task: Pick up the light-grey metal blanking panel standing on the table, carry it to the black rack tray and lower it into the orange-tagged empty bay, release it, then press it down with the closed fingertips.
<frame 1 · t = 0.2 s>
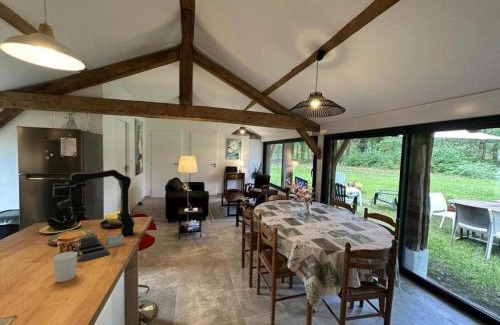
hand: (76, 221, 128), 14 cm above the counter, fingers open, 9 cm apart
rack: (90, 251, 122), on the counter
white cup: (65, 278, 96), on the counter
panel: (114, 245, 131), on the counter
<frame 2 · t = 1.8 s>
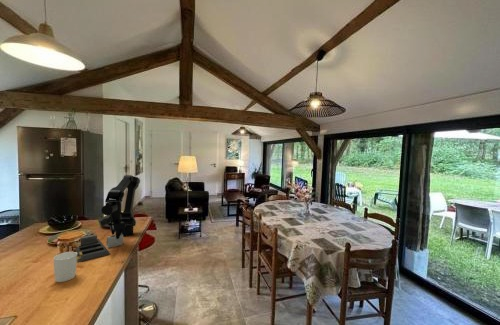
hand: (115, 236, 131), 5 cm above the counter, fingers open, 9 cm apart
nothing on the counter moved.
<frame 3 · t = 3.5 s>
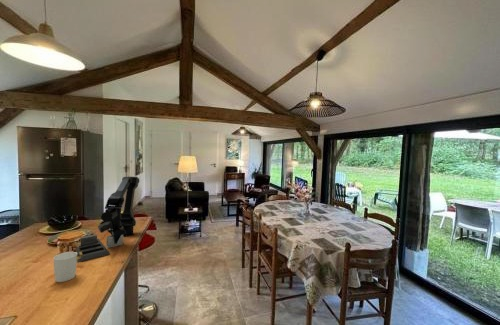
hand: (114, 242, 131), 2 cm above the counter, fingers closed on panel, 2 cm apart
panel: (114, 245, 131), on the counter, touching gripper
everything else where it was.
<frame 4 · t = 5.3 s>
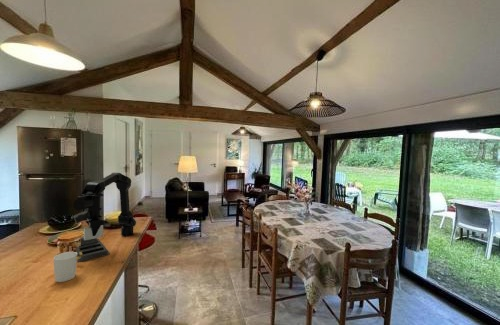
hand: (93, 235, 117), 11 cm above the counter, fingers closed on panel, 2 cm apart
panel: (93, 237, 117), point 9 cm above the counter, touching gripper
everything else where it was.
when the fingers open (3 cm above the counter, at t = 7.2 s): panel stays where it is, resting on rack.
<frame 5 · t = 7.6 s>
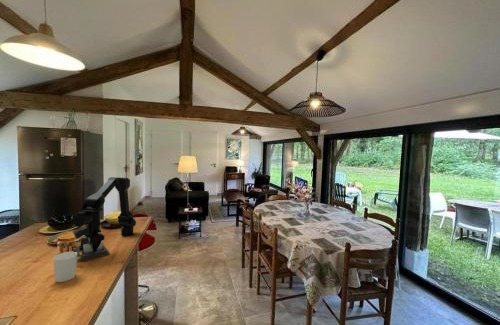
hand: (93, 249, 117), 3 cm above the counter, fingers open, 7 cm apart
panel: (93, 254, 117), resting on rack
everything else where it was.
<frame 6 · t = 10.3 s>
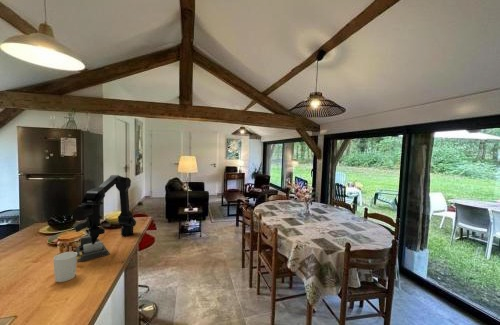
hand: (93, 243, 117), 6 cm above the counter, fingers closed, pressing on panel
panel: (93, 254, 117), resting on rack, touching gripper
everything else where it was.
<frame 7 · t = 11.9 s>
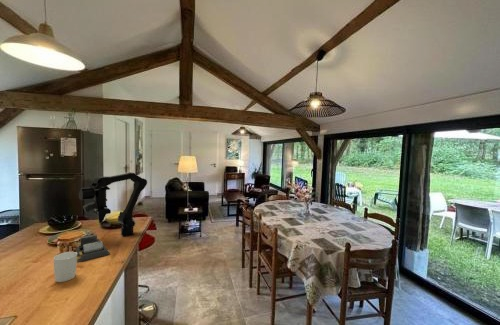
hand: (100, 222, 134), 12 cm above the counter, fingers closed
panel: (93, 254, 117), resting on rack
everything else where it was.
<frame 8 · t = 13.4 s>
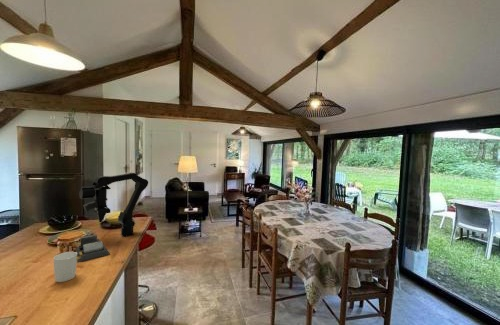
hand: (100, 222, 135), 12 cm above the counter, fingers closed
nothing on the counter moved.
at the end: panel 0.0 cm from the target spot on the rack, point 0.5 cm above the rack's base; panel tilted 0°; the gripper is holding nothing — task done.
